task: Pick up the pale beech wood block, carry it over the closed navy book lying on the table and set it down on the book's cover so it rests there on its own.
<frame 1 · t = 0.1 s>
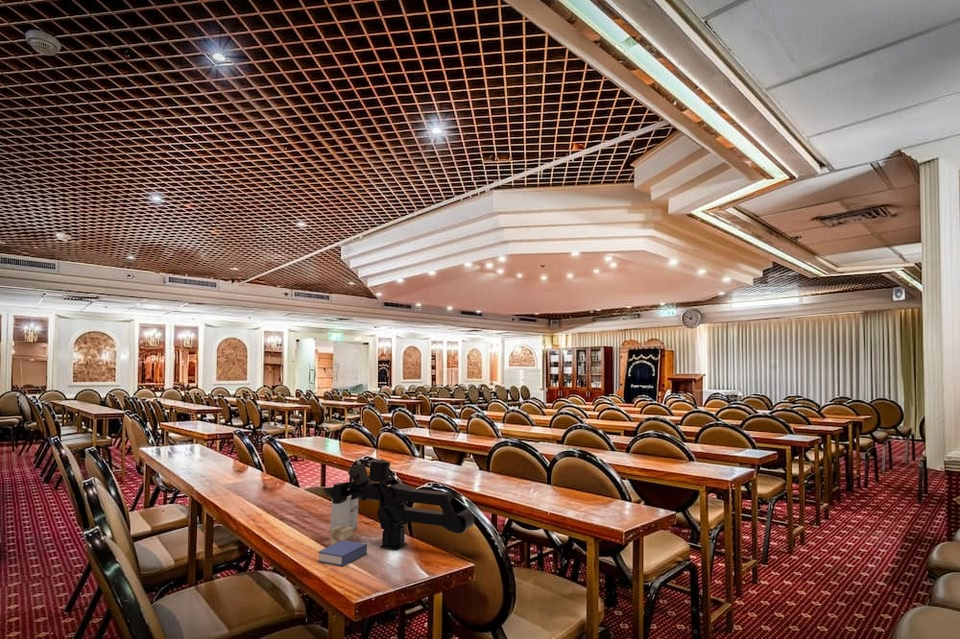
hand: (333, 486, 179), 17 cm above the table, tool horizontal, fingers open, 9 cm apart
beech block: (341, 544, 170), on the table
navy book: (342, 557, 156), on the table
supplement box: (343, 530, 185), on the table
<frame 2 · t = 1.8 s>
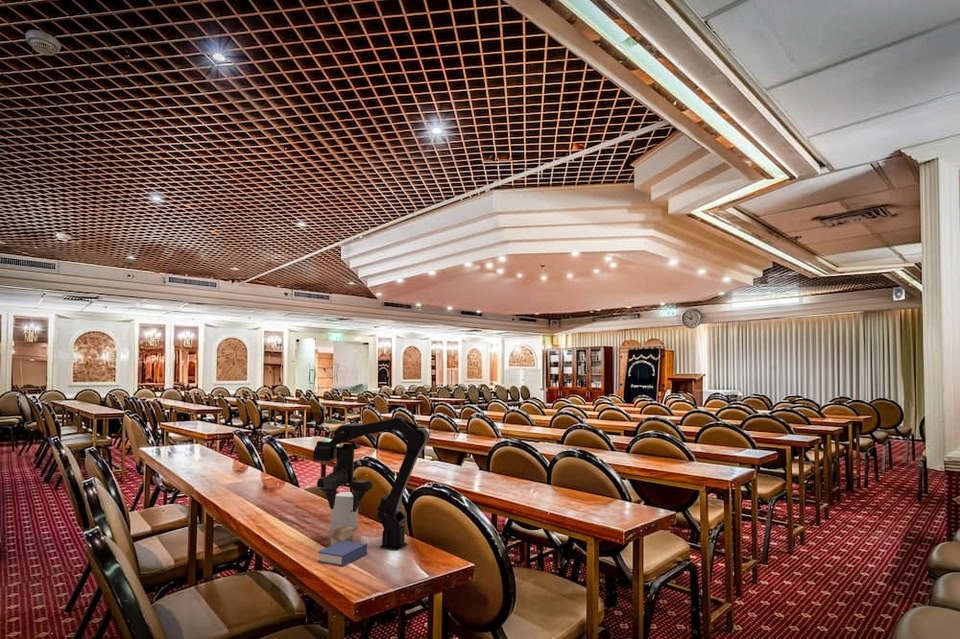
hand: (343, 510, 171), 11 cm above the table, tool pointing down, fingers open, 9 cm apart
nothing on the table moved.
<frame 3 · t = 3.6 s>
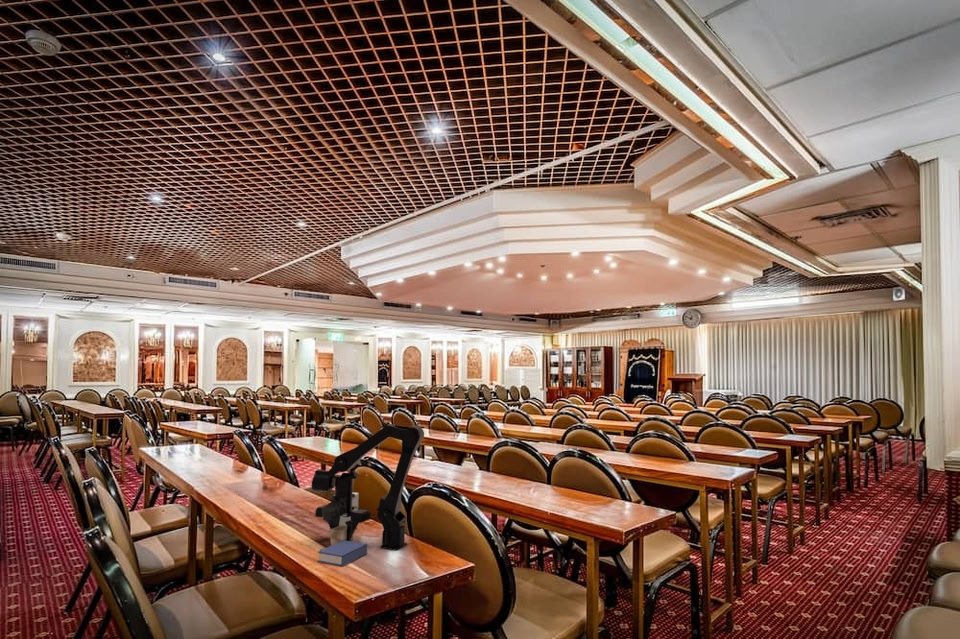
hand: (341, 540, 170), 1 cm above the table, tool pointing down, fingers closed on beech block, 5 cm apart
beech block: (341, 543, 170), on the table, touching gripper
everything else where it was.
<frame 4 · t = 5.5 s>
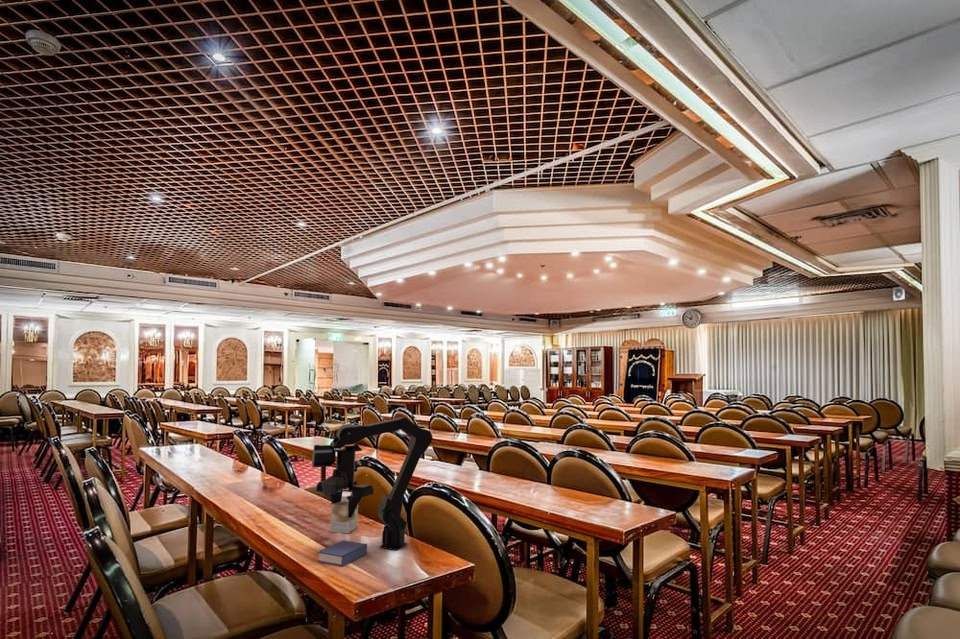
hand: (343, 516, 162), 11 cm above the table, tool pointing down, fingers closed on beech block, 5 cm apart
beech block: (343, 519, 162), point 10 cm above the table, touching gripper
everything else where it was.
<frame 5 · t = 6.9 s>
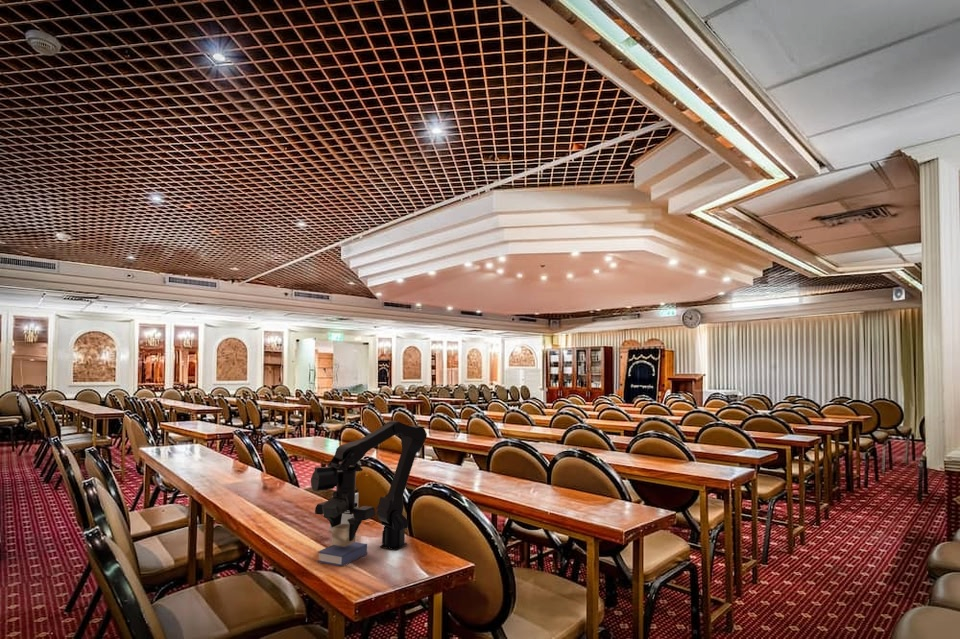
hand: (343, 539, 157), 5 cm above the table, tool pointing down, fingers closed on beech block, 5 cm apart
beech block: (343, 543, 157), point 4 cm above the table, touching gripper
everything else where it was.
when the fingers open (5 cm above the table, at t = 7.7 s): beech block drops 1 cm, resting on navy book.
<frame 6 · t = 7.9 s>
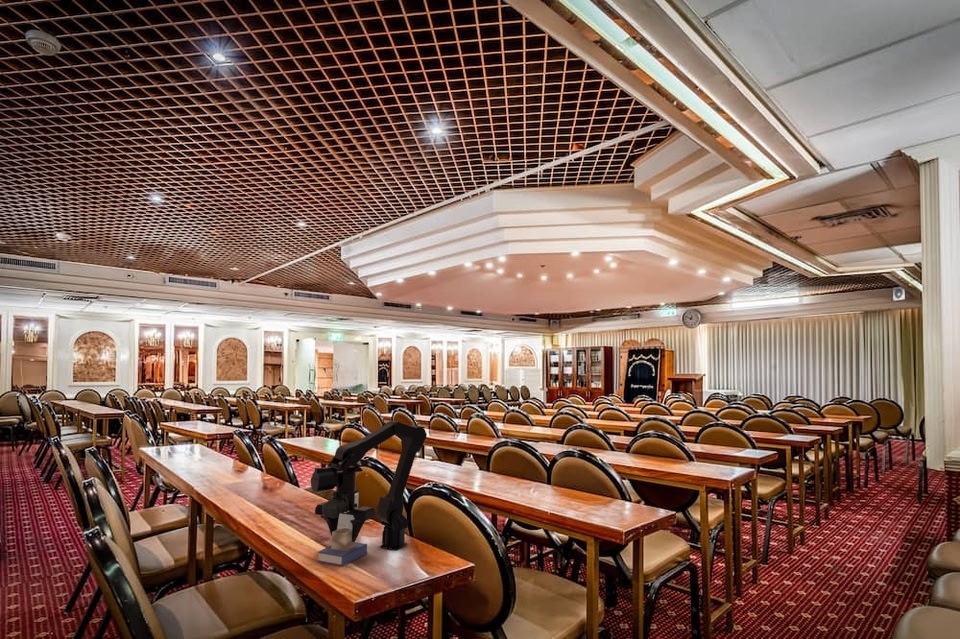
hand: (343, 540, 157), 5 cm above the table, tool pointing down, fingers open, 7 cm apart
beech block: (343, 547, 157), point 3 cm above the table, touching navy book
everything else where it was.
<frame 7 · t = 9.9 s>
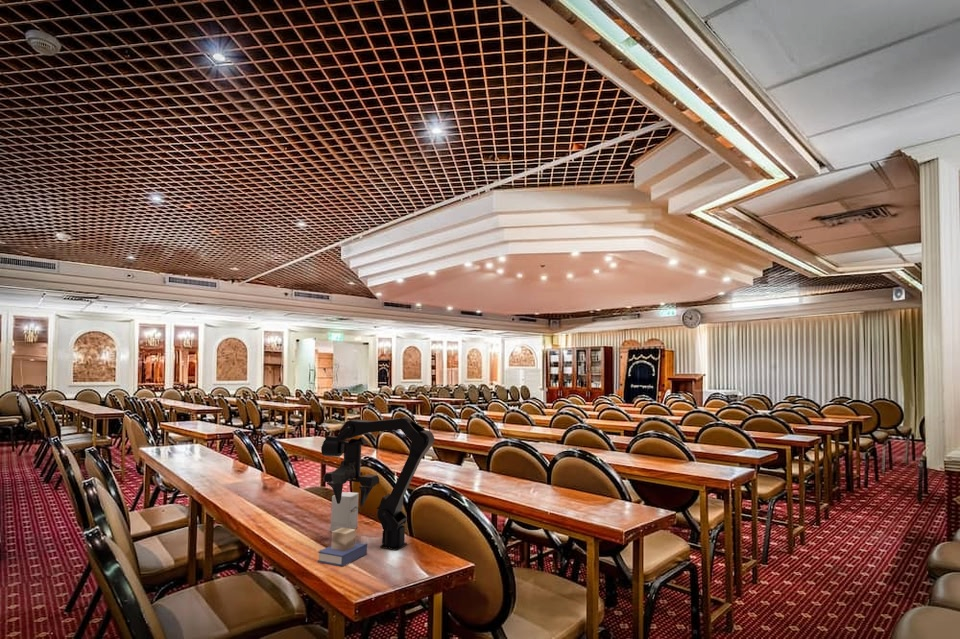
hand: (350, 504, 173), 12 cm above the table, tool pointing down, fingers open, 9 cm apart
nothing on the table moved.
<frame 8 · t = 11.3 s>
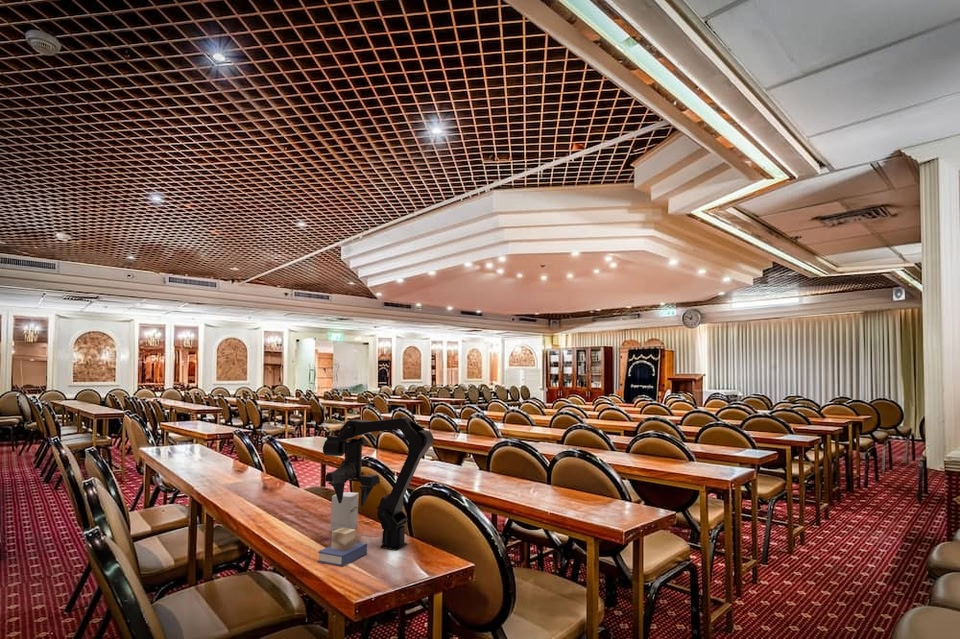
hand: (351, 504, 173), 12 cm above the table, tool pointing down, fingers open, 9 cm apart
nothing on the table moved.
at the end: beech block inside the target area on the navy book (0.0 cm from its centre), point 3.0 cm above the navy book's base; beech block tilted 0°; the gripper is holding nothing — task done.
